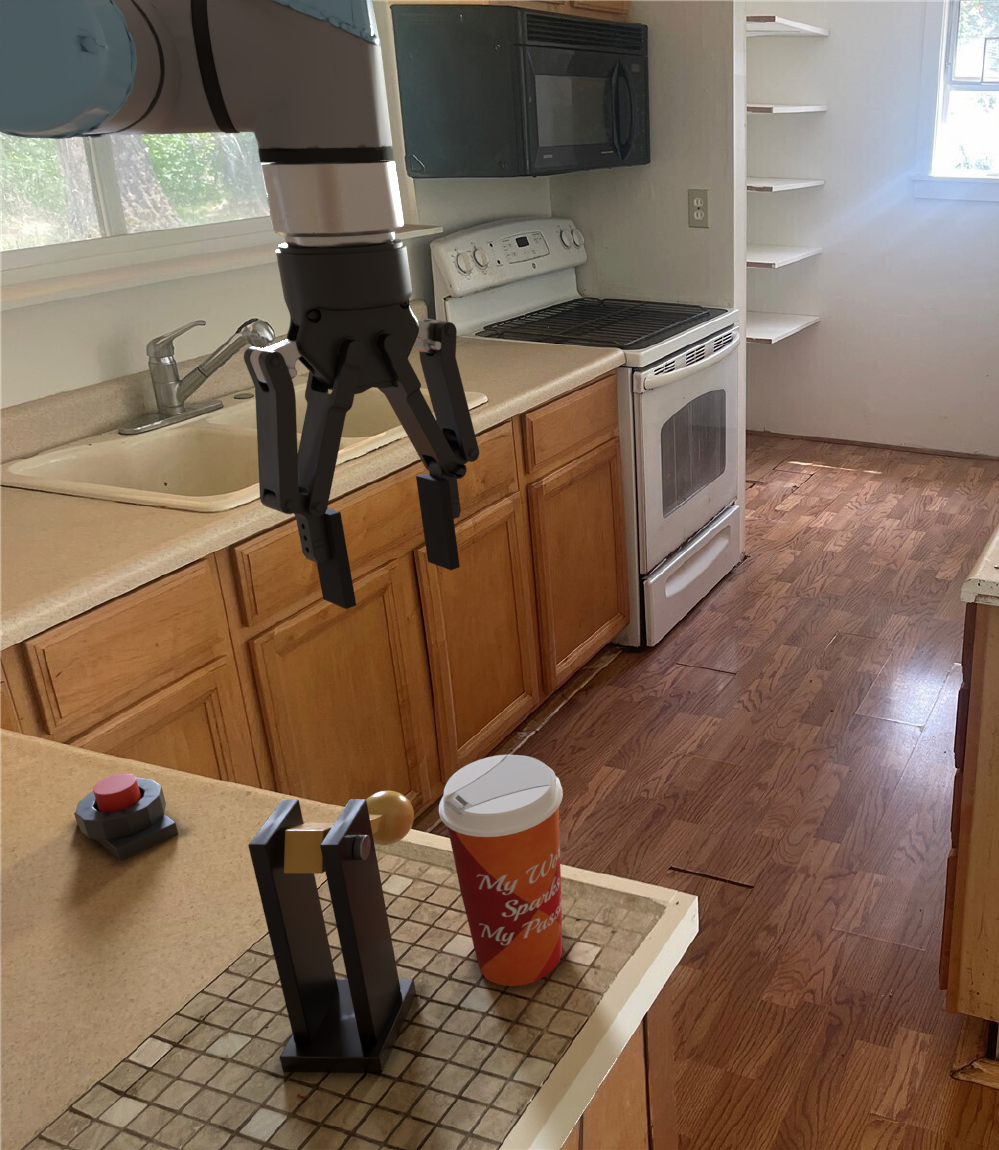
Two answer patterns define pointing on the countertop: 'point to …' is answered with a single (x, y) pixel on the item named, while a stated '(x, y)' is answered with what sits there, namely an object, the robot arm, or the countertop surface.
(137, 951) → the countertop surface
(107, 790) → the set button
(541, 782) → the paper cup
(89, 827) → the button base
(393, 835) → the lever
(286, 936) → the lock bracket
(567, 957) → the countertop surface
